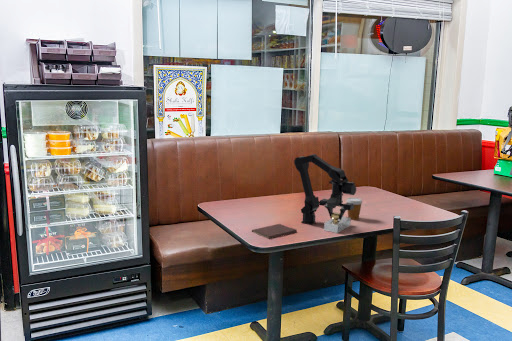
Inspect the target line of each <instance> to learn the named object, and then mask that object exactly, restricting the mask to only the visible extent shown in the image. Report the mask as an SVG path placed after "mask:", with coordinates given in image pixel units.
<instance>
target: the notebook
mask: <svg viewBox="0 0 512 341" xmlns="http://www.w3.org/2000/svg"><path fill="white" fill-rule="evenodd" d="M251 232H252V233H254V234H256V235H259V236H261V237H263V238H266V239H269V240H271V239H275V238H279V237H282V236H283V235H284V236H288V235H291V234H295V233H298V231H297V229H296V228H293V227H290V226H286V225H283V224H281V223H278V224H273V225H268V226H264V227H259V228H255V229H251Z"/></svg>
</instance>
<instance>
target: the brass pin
mask: <svg viewBox="0 0 512 341" xmlns="http://www.w3.org/2000/svg"><path fill="white" fill-rule="evenodd" d="M330 219H333V222H336V223H338V219H340V212H335V211H333V213H331V218H330Z"/></svg>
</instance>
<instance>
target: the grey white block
mask: <svg viewBox="0 0 512 341" xmlns="http://www.w3.org/2000/svg"><path fill="white" fill-rule="evenodd" d="M351 223H352V221H351V218H349V217H348V216H344V215H343V217H342V219H341V220H340V219H338V223H336V222H333V219H332V218H330V219H329V220H327V221H325V222H324V223H323V224H324V226H323V231H326V232H332V233H335V234H338V233H340V232H342V231H343V230H345V229H346V228H348V227H350V226H351Z"/></svg>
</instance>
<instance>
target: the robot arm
mask: <svg viewBox="0 0 512 341" xmlns="http://www.w3.org/2000/svg"><path fill="white" fill-rule="evenodd" d="M293 163H294V166H295V169H296V170H297V171H298V173H299V176H300V180H301V184H302V187H303V188H302V189H303V191H304V197H305V198H304V202H303V203H304V206H303V207H302V208H301V209H300V212H301V214H302V221H301V222H300V223H302V224H307V225H312V224H314V223H316V213H315V212H317V211H318V209H319V207H320V206H324V208H325V209H327V212H328V214H329V215H328V216H329V218H330V219H332V218H331V213H333V212H334V209H336V207H339V213H340V220H341V219H342V217H343V216H344V215H345V213H346V211H348V210H352V209H354V204H353V203H347V202H346V203H343V196H344V194H345V195H350V196H355V194H356V192H357V186H356V185H355V182H354V181H351V182H350V181H349V180H348V178H347V176H346V172H345V170H343V169H341V168H339V167H336V166H333V165H331V164H330V163H328V162H327V161H326V160H323V158H321V157H320V156H318V154H315V153H314V154H309V155H307V156H305V155H303V156H297V157H295V158H294V160H293ZM310 163H312V164H314V165H316V166H317V167H318V168H319V169H321V170H322V171H323V172H326V173H327V175H328V177H329V178H330V180H329V182H328V184H332V186H331V187H332V188H331V194H330V197H329V198H328V199H327V198H322V199H320V200H319V196H316V195H315V194H314V191H313V186H312V182H311V179H310V174H309V168H310V167H309V166H310ZM340 207H341V208H340Z"/></svg>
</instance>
